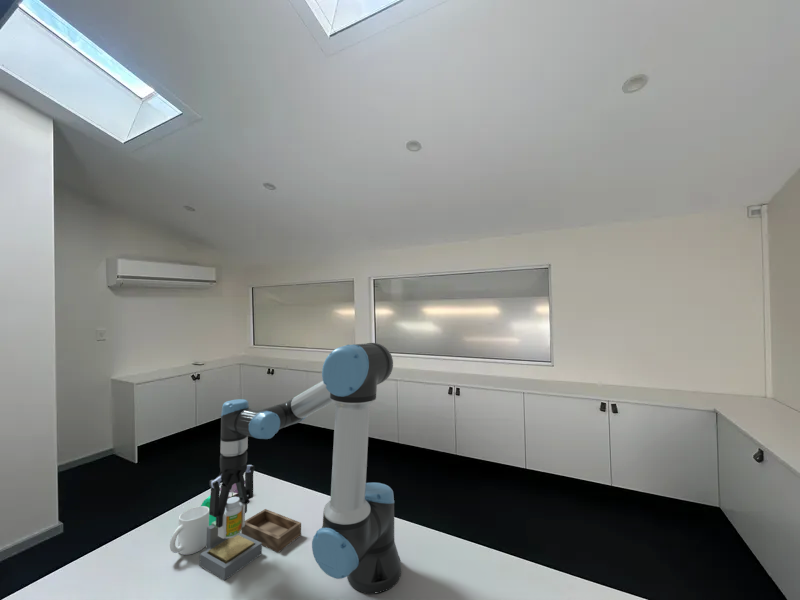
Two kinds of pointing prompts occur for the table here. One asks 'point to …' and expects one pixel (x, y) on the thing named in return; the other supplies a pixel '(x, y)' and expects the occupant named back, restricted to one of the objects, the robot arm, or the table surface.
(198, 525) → the mug
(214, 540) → the grey stepped block
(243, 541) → the contact pad
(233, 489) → the lily
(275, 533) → the trough
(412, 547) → the table surface
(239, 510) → the supplement bottle
